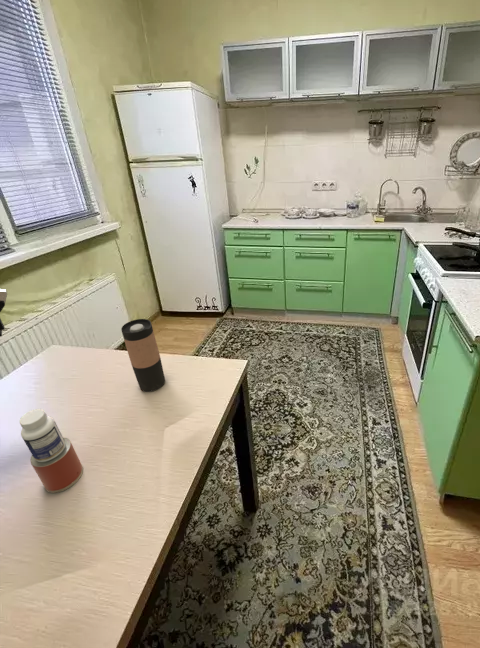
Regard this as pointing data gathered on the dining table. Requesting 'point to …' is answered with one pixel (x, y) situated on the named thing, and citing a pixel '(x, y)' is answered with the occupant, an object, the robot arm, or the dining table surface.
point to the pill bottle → (41, 435)
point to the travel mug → (144, 354)
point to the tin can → (59, 469)
